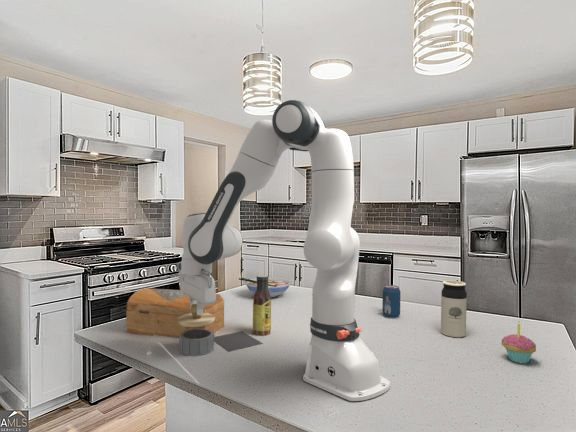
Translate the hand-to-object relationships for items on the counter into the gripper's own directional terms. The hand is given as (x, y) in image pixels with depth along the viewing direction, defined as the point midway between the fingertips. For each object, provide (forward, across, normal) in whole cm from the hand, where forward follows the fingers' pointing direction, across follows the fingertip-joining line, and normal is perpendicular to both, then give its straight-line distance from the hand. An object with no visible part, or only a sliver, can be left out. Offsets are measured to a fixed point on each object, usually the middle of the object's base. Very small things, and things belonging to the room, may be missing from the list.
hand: (196, 312), depth 112 cm
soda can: (+11, -9, -78) cm, 80 cm away
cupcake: (+11, -58, -74) cm, 95 cm away
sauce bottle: (+12, +2, -24) cm, 27 cm away
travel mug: (+11, -35, -79) cm, 87 cm away
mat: (+11, 0, -13) cm, 17 cm away
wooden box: (+12, +22, -2) cm, 25 cm away
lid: (+2, 0, 0) cm, 2 cm away
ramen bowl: (+12, +46, -54) cm, 72 cm away
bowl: (+11, 0, 0) cm, 11 cm away
